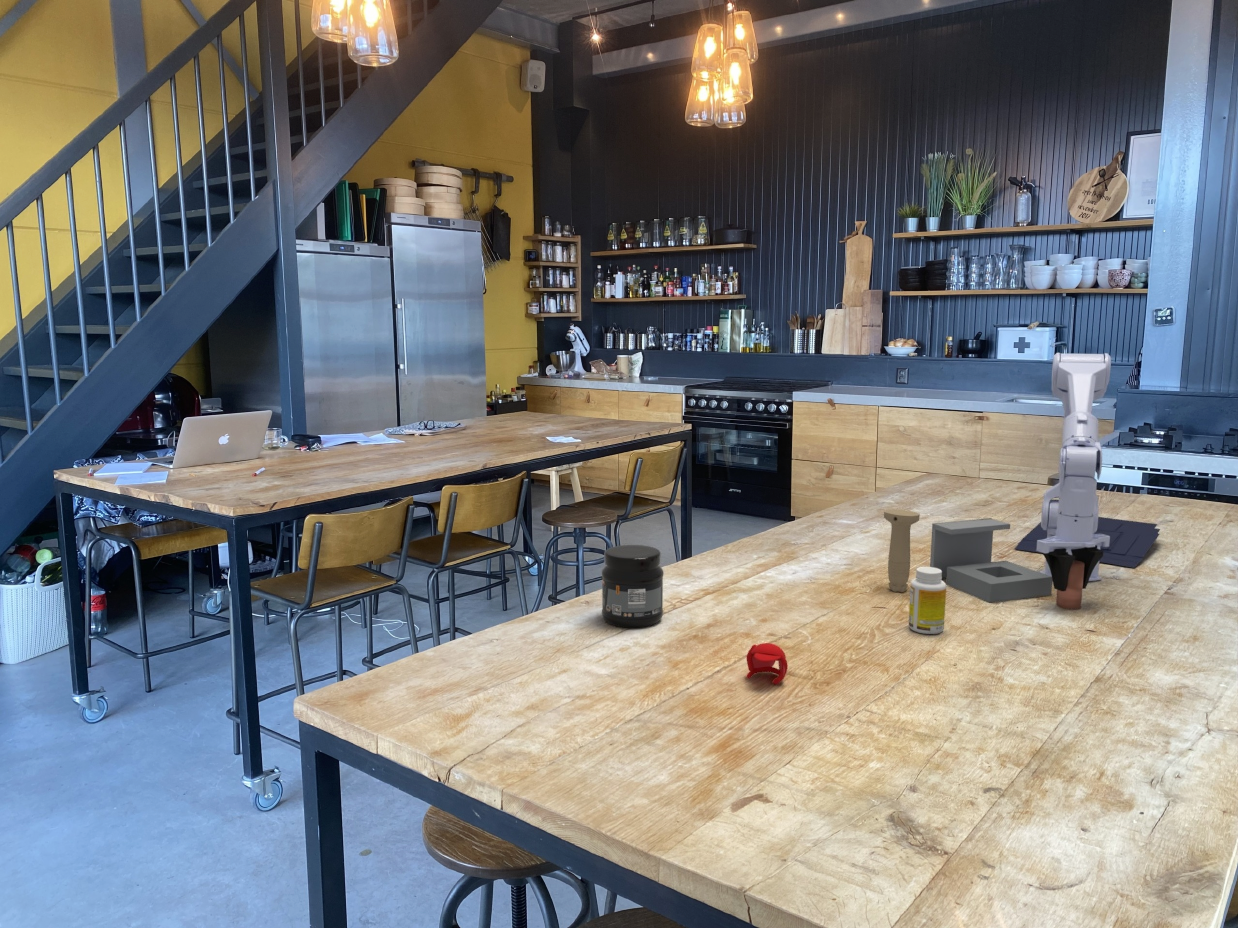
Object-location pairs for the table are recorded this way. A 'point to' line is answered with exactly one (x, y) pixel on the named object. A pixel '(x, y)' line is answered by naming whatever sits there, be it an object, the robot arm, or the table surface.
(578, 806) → the table surface
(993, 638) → the table surface
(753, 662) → the red toy helmet
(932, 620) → the supplement bottle
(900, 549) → the handle
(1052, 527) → the robot arm
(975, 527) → the socket stand
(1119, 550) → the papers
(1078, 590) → the peg
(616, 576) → the supplement container
